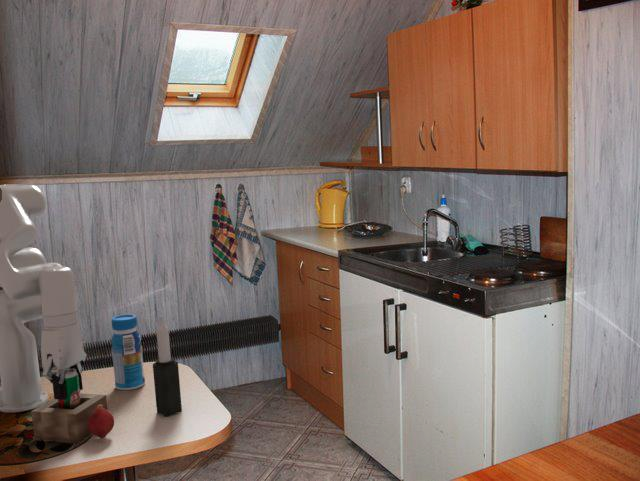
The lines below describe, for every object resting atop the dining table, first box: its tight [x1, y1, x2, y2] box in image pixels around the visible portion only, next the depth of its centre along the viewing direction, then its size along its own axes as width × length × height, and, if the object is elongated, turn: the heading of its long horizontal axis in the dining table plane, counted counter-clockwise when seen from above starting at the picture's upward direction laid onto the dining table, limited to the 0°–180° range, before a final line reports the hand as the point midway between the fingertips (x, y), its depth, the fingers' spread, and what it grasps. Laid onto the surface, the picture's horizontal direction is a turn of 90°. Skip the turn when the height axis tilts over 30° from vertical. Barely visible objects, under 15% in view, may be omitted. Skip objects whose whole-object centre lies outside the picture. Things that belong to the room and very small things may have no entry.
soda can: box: [56, 368, 82, 409], centre depth 157 cm, size 5×5×12 cm
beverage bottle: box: [110, 314, 146, 391], centre depth 187 cm, size 8×8×20 cm
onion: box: [88, 405, 115, 439], centre depth 153 cm, size 6×6×8 cm
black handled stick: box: [152, 315, 183, 418], centre depth 166 cm, size 5×5×25 cm
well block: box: [30, 392, 109, 445], centre depth 158 cm, size 12×12×7 cm
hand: (68, 393), depth 157 cm, fingers closed on soda can, 5 cm apart
